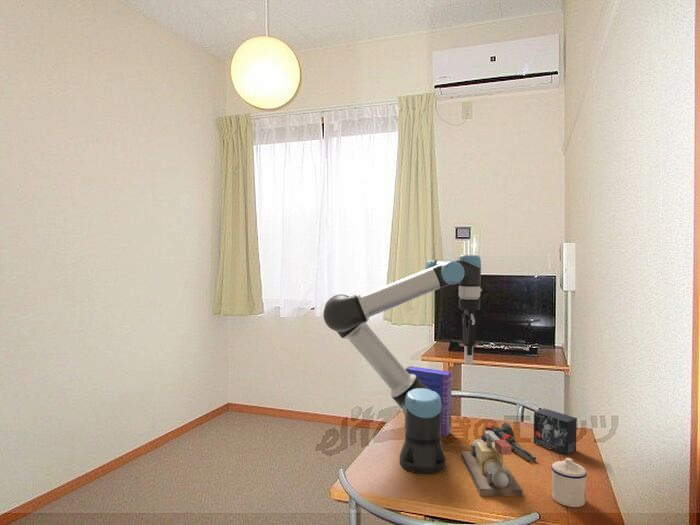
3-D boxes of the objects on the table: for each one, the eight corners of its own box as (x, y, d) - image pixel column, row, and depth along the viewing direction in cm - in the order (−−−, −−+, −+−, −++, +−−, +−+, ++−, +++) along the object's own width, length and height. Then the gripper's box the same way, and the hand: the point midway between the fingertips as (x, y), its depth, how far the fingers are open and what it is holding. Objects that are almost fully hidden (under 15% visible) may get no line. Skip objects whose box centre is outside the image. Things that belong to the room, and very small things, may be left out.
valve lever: (483, 435, 149) (483, 428, 149) (492, 435, 149) (492, 427, 149) (501, 454, 134) (501, 446, 134) (511, 454, 135) (511, 446, 135)
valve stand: (480, 495, 135) (480, 454, 135) (460, 456, 161) (461, 422, 161) (522, 496, 135) (522, 455, 134) (496, 457, 161) (496, 422, 160)
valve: (466, 442, 179) (499, 432, 184) (509, 475, 154) (546, 463, 159) (464, 426, 178) (498, 416, 183) (508, 457, 154) (545, 445, 158)
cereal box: (450, 432, 182) (451, 371, 182) (446, 436, 178) (447, 374, 178) (409, 424, 192) (410, 365, 191) (404, 427, 187) (405, 368, 187)
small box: (532, 443, 173) (533, 411, 173) (542, 439, 177) (543, 407, 177) (567, 455, 163) (567, 421, 162) (577, 451, 167) (577, 417, 167)
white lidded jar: (593, 507, 129) (594, 465, 129) (563, 509, 128) (564, 467, 128) (566, 485, 141) (567, 447, 141) (538, 487, 140) (539, 449, 140)
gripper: (484, 299, 161) (483, 368, 162) (475, 296, 174) (474, 359, 175) (463, 299, 161) (462, 367, 162) (455, 296, 174) (454, 359, 175)
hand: (468, 363), depth 168 cm, fingers closed
